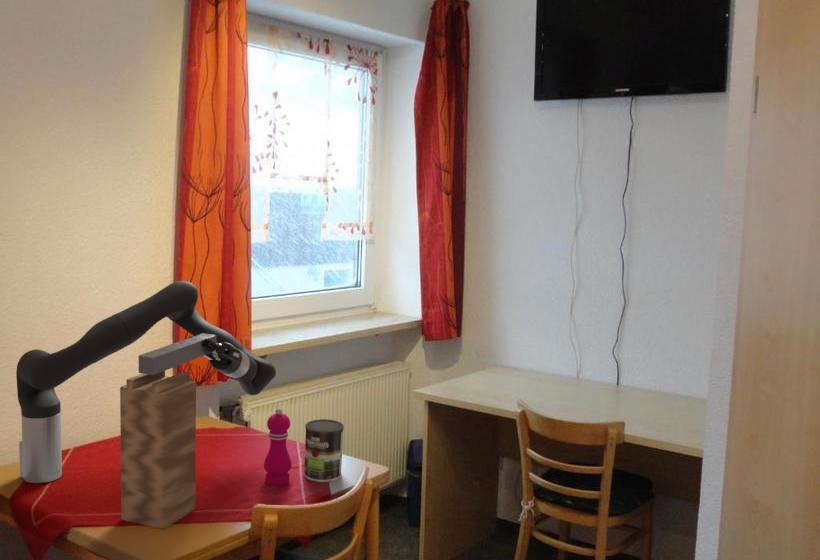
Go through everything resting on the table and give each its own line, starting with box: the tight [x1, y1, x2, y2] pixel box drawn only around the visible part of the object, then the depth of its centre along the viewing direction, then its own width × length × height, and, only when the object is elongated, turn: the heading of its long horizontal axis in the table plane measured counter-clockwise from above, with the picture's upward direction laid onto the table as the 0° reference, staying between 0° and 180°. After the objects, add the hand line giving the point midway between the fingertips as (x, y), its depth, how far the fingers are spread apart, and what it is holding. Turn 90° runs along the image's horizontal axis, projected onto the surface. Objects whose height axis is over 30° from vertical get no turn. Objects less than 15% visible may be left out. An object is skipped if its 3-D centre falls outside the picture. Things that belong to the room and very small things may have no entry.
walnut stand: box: [119, 371, 197, 531], centre depth 193 cm, size 12×12×34 cm
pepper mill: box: [263, 407, 293, 486], centre depth 217 cm, size 7×7×20 cm
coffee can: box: [303, 418, 345, 483], centre depth 223 cm, size 10×10×14 cm
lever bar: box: [138, 333, 217, 375], centre depth 197 cm, size 4×25×4 cm, turn 160°
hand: (197, 341), depth 203 cm, fingers closed on lever bar, 4 cm apart
